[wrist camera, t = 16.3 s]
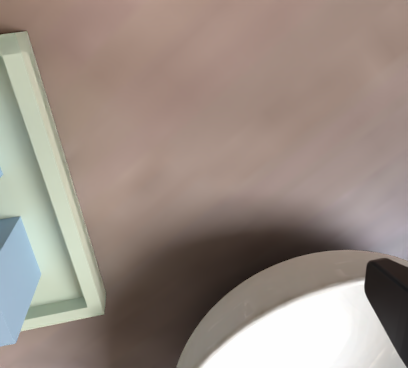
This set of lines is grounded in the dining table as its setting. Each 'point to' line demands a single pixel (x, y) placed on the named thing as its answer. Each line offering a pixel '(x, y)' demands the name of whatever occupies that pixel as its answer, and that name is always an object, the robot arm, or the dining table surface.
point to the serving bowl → (296, 319)
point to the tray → (43, 194)
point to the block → (15, 278)
